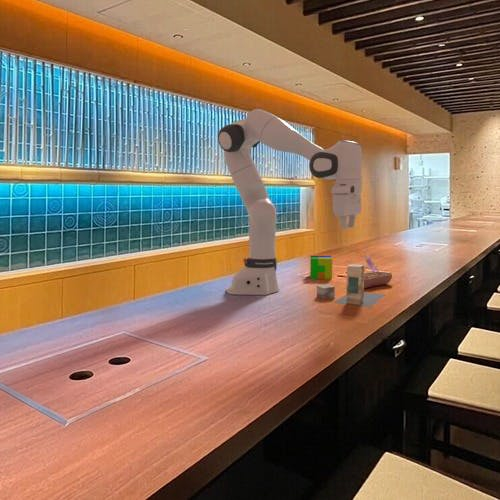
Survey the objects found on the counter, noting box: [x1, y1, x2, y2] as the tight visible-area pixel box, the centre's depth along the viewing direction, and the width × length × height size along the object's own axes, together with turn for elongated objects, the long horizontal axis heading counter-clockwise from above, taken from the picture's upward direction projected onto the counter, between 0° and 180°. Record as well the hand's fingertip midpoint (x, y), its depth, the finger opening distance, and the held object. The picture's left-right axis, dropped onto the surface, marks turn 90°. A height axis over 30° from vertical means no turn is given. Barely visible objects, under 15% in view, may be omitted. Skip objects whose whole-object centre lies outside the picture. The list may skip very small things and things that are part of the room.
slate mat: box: [333, 292, 386, 308], centre depth 182 cm, size 22×14×1 cm, turn 150°
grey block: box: [316, 284, 336, 300], centre depth 184 cm, size 5×5×5 cm
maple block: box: [346, 263, 365, 304], centre depth 175 cm, size 5×5×14 cm
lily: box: [362, 253, 380, 273], centre depth 236 cm, size 12×12×10 cm
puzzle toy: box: [309, 255, 333, 280], centre depth 229 cm, size 10×10×10 cm
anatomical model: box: [364, 271, 393, 289], centre depth 207 cm, size 23×10×5 cm, turn 126°
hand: (347, 228), depth 163 cm, fingers open, 6 cm apart
